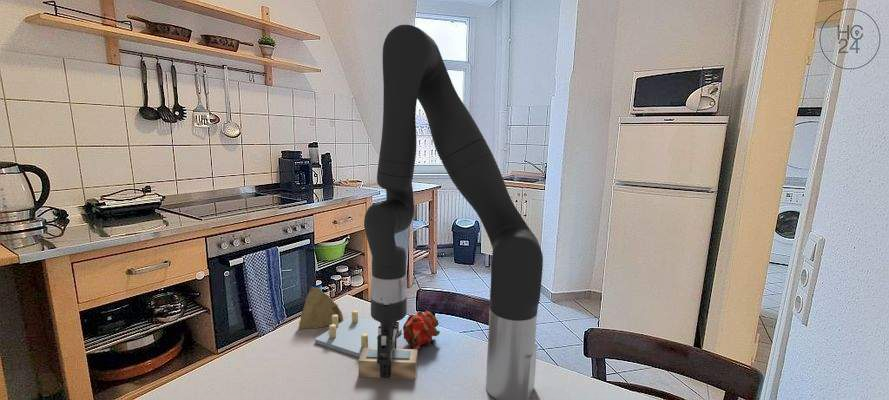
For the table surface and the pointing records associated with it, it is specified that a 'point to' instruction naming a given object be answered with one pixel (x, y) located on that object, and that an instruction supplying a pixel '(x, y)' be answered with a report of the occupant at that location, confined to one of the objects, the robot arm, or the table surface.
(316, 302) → the rock
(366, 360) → the frame
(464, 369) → the table surface
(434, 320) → the dragon fruit
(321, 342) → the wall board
